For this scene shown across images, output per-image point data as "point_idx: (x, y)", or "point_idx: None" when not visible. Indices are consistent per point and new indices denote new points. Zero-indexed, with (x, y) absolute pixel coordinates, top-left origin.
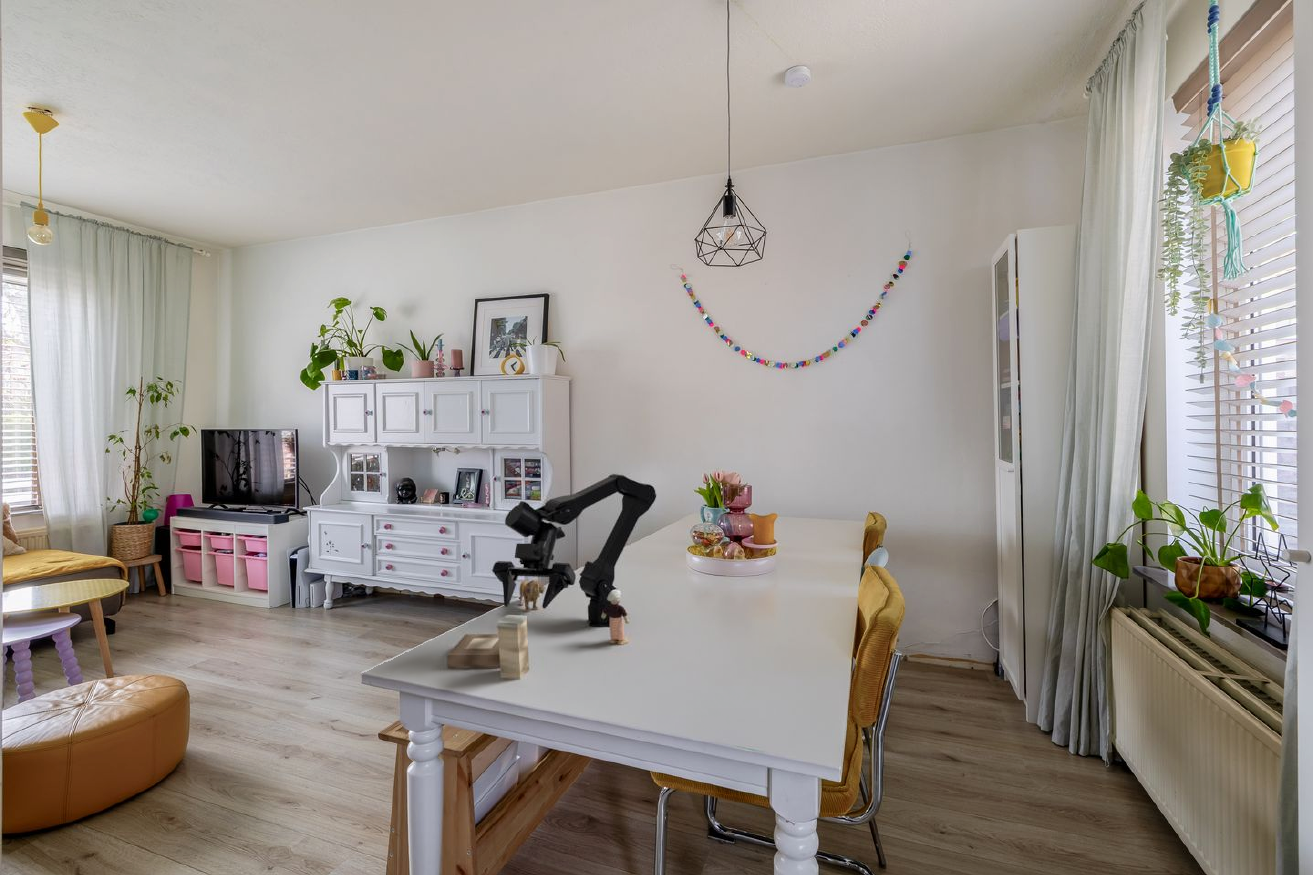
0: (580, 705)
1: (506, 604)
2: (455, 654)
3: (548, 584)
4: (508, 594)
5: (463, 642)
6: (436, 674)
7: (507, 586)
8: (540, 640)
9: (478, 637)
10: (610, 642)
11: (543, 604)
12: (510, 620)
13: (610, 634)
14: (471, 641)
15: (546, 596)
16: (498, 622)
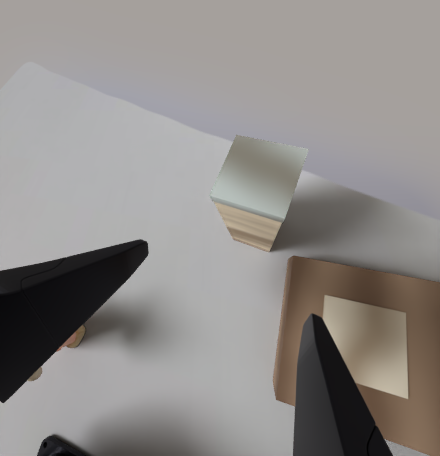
0: (167, 128)
1: (308, 320)
2: (419, 283)
3: (23, 288)
4: (315, 383)
5: (433, 376)
6: (431, 256)
7: (350, 450)
8: (214, 400)
9: (393, 409)
10: (84, 327)
11: (137, 242)
12: (262, 160)
13: (69, 339)
14: (405, 369)
15: (101, 254)
16: (304, 148)
